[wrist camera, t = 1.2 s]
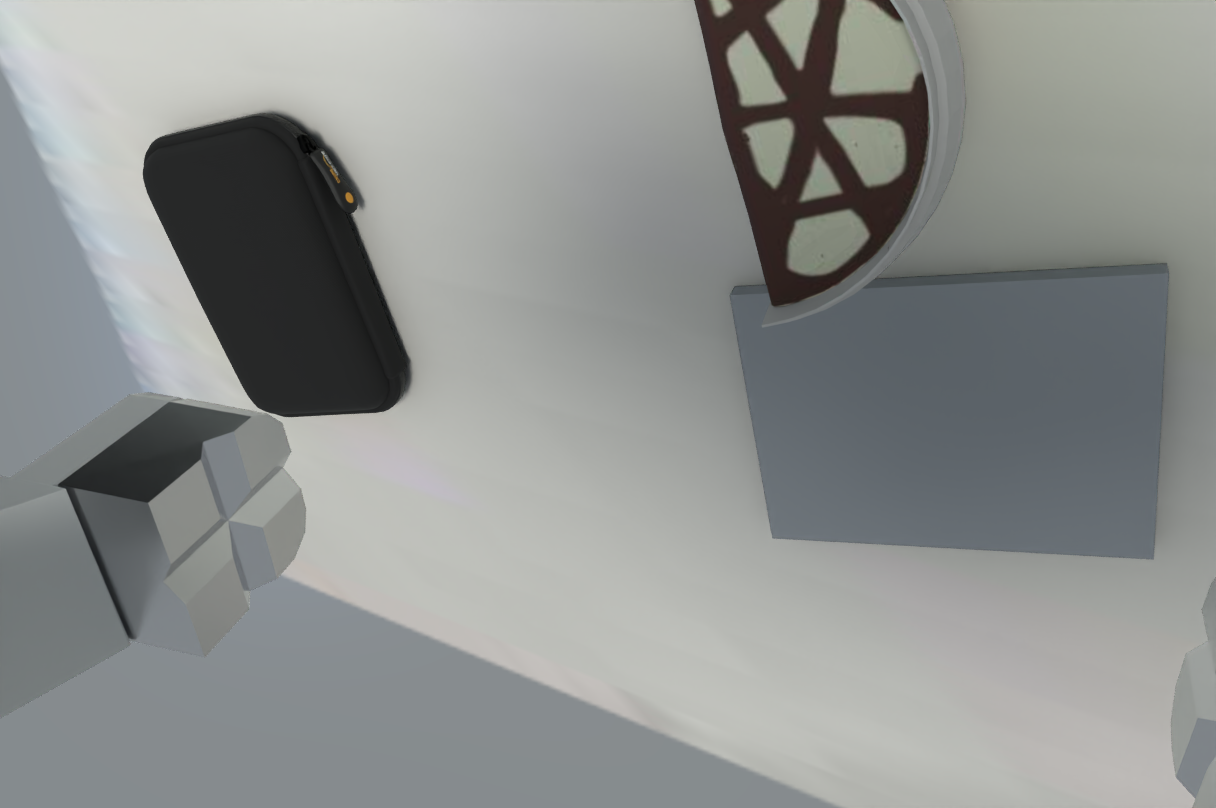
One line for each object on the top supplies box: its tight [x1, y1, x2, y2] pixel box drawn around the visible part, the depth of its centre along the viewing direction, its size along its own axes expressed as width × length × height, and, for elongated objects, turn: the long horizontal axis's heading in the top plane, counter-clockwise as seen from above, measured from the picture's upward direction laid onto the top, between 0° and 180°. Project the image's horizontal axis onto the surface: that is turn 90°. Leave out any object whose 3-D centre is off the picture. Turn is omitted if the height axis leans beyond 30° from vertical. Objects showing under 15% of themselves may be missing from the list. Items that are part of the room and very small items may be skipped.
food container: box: [694, 0, 966, 328], centre depth 29 cm, size 12×6×10 cm, turn 19°
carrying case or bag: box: [143, 113, 407, 417], centre depth 46 cm, size 11×3×15 cm
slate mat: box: [730, 264, 1169, 559], centre depth 39 cm, size 15×12×1 cm
